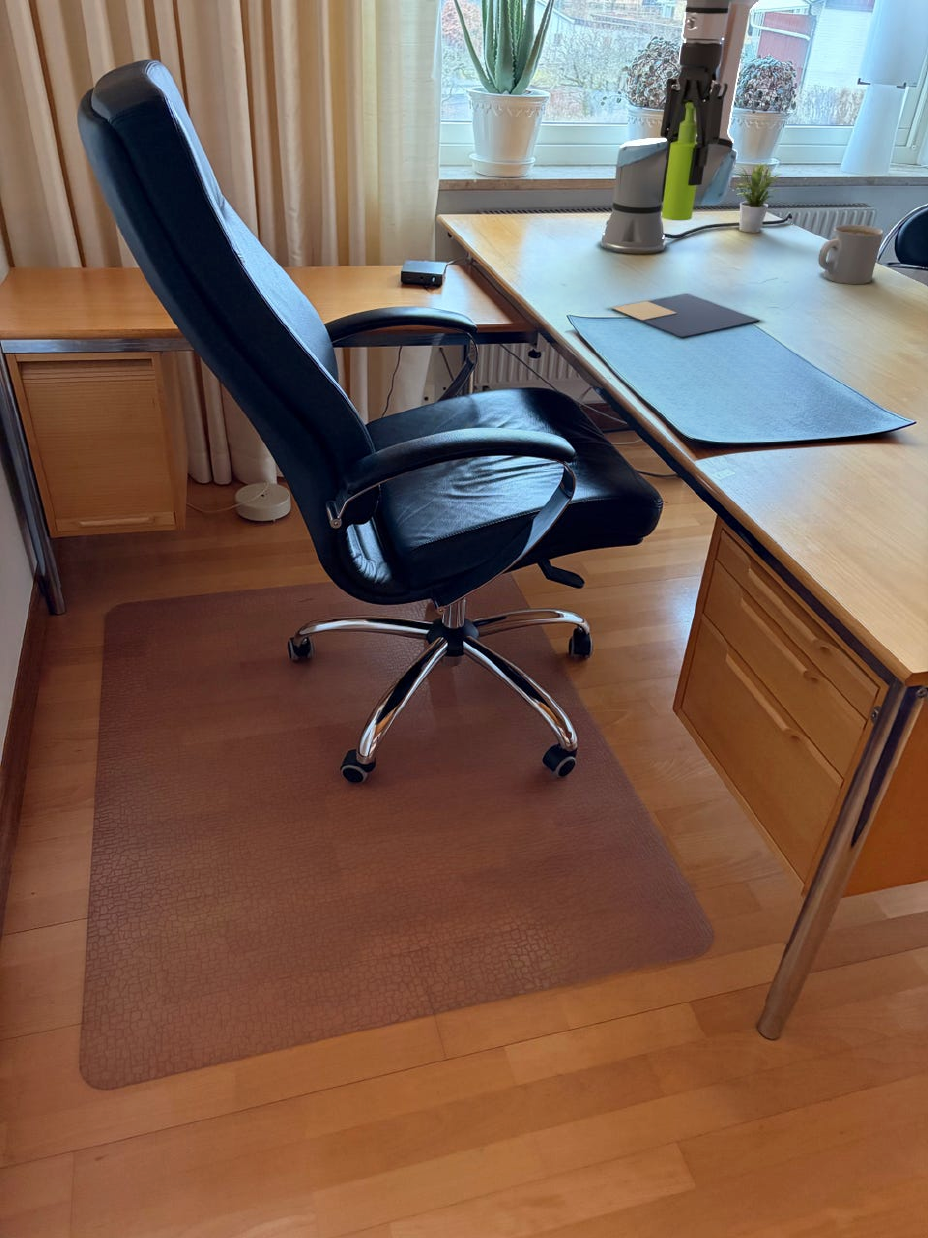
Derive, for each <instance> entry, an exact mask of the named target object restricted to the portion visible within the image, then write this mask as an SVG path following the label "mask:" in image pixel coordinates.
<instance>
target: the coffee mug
mask: <svg viewBox="0 0 928 1238" xmlns="http://www.w3.org/2000/svg"><path fill="white" fill-rule="evenodd" d="M883 236H884V231H883V229H880V228H877V227H875V226H874V227H873V226H869V225H864V224H863V225H862V224H840V225H837V226H835V227H834V229H833V233H832V238H831V239H829V240H827V241H825V242H824V243H823V244H822V245H821V247H820V250H819V253H818V257H817V258H818V259H817V261H818V262H817V263H818V265H819V267H821V268H822V269H823V270H824V271H823V278H825V279H827V280H828V281H832V282H835V283H839V284H845V285H846V284H847V285H865V284H868V283H870V282H871V281H872V278H873V274H874V272H875V271H874V270H875V267H876V264H877V259H878V255H879V251H880V247H881V244H882V240H883Z"/></svg>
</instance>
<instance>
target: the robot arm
mask: <svg viewBox="0 0 928 1238" xmlns="http://www.w3.org/2000/svg"><path fill="white" fill-rule="evenodd" d="M630 1H632V2H634V1H636V0H630ZM668 1H670V2H675V1H676V2H686V3H685V10H684V18H683V25H682V26H683V27H682V33H681V38H682V39H683V40H684V42H682V43H681V44H680V48H679V56H678V62H677V63H678V66H679V67H680V71H679V73H678V76H677V77H669V78H667V79H666V81H665V82H666V95H665V96H666V97H665V103H664V108H663V115H662V121H661V128H660V137H655V138H644V139H636V140H632V141H628V142H625V143H624V144H622V145H621V146H620V147H619V149H618V152H617V159H616V164H615V176H614V188H613V198H612V209H611V213H610V215H609V218H608V219H607V221H606V224H605V229H604V230H605V231H604V232H603V234H602V235H601V236H602V237H601V241H600V246H601V247H602V248H604V249H606V250H608V251H611V252H616V253H621V254H631V255H642V254H643V255H646V254H654V253H655V254H656V253H659V252H662V251H663V250H664V249H665V247H666V238H667V239H680V238H684V237H685V236H689V235H691V234H693V233H697V232H699V231H703V230H707V229H708V230H709V229H715V228H726V227H740V221H738V222H725V223H724V222H722V223H713V224H706V225H700V226H698V227H695V228H692V229H689V230H686V231H684V232H681V233H679V234H678V233H677V234H671V233H664V223H663V218H662V210H663V202H664V193H665V185H666V177H667V169H668V161H669V153H670V145H671V143H673V142H677V141H678V135H679V127H680V123H681V122H683V121H685V116H686V108H685V106H686V103H687V102H688V101H690V102H693V105H694V107H695V109H696V110H695V117H694V121H696V127H697V136H696V142H697V144H696V145H695V147H694V148H693V155H692V162H691V169H690V176H689V183H688V185H690V186H693V185H696V191H695V198H694V205H695V206H696V205H697V206H700V207H703V206H719V205H721V204H722V203H723V202H724V200H725V199H726V196H727V193H728V191H729V188H730V185H731V182H732V178H733V175H734V172H735V168H736V165H737V160H738V156H739V155H738V154H739V152H738V150H736V149H734V148H733V146H734V139H733V138H732V137H731V136H730V134H729V130H730V125H731V118H732V113H733V107H734V101H735V96H736V90H737V84H738V78H739V72H740V67H741V61H742V57H743V51H744V50H743V49H744V46H745V45H744V44H745V39H746V34H747V27H748V22H749V17H750V12H751V10H752V9H754V8H755V7H756V6H757V5H758V4H759V0H668ZM791 219H793V215H792V213H791V212H788V213H786V215H785V217H784V218H783V219H777V220H766V221H765V220H763V223H762V226H769V225H780V224H785V223H786V222H787V221H788V220H791Z"/></svg>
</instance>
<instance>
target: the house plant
mask: <svg viewBox="0 0 928 1238" xmlns="http://www.w3.org/2000/svg"><path fill="white" fill-rule="evenodd" d="M766 166H767V163H764V165H762V164H761V162H759V164H758V166H757V167H756V165H754V166H753V170H752V173H751V177H750V178H749V175H748V174H747V172H746V170H745V168H743V167H742V166H740V165H737V164H735V167H739V168H741V169H742V172H743V173H744V174H745V175H744V174H743V173H742V172H741V171H738V173H739V177H741V178H742V180H743V182H744V183H742V182H741V183H734V182H733V184H734V185H736V186H737V187H736V188H733V191H735V190H740V192H737V194H736V196H735V197H737V196H739V195H741V197H745V199H746V201H742V202H740V203H739V222H740V226H738V227H739V231H741V232H743V233H751V234H752V233H759V232H760V231H761V229H762V227H763V225H762V223H763V221H765V217H766V214H767V212H768V209H769V204H767V203H765V202H766V201H767V200H768V199H769V198H772V199H774V198H775V196H772V195H769V193H770V192H771V191H774V190H781V188H779V187H776V188H775V187H774V188H772V189H770V190H768V188H769V187H770V186H771V184H772V183H774V182H775V180H776V179H777V178H778V177H779V176H781V175H782V173H781V174H776V175H774V176H773V177H771V174H772V169H770V170H769V166H767V167H766ZM765 167H766V170H765ZM764 171H765V172H764ZM734 172H735V173H737V171H736V170H734ZM763 173H764V176H763ZM762 177H763V178H762ZM770 177H771V178H770ZM750 179H751V181H750ZM761 180H762V181H761ZM741 186H743V187H745V188H746V189H747V190H746V189H745V188H742V187H741ZM747 191H748V192H747Z"/></svg>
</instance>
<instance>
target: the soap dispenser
mask: <svg viewBox="0 0 928 1238" xmlns="http://www.w3.org/2000/svg"><path fill="white" fill-rule="evenodd" d="M685 108H686V116H685V121H683V122H681V123H680V127H679V135H678V141H677V142H673V143H671V145H670V153H669V161H668V169H667V177H666V185H665V193H664V202H663V203H662V211H661V217H662V219H665V220H670V221H680V222H681V221H690V220H692V218H693V211H694V205H695V204H694V198H695V191H696V185H693V186H690V185H688V183H689V176H690V169H691V162H692V155H693V148H694V147H695V145H696V144H697V142H696V136H697V127H696V121H694V117H695V110H696V109H695V107H694V105H693V102H690V101H688V102H687V103H686V106H685Z"/></svg>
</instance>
